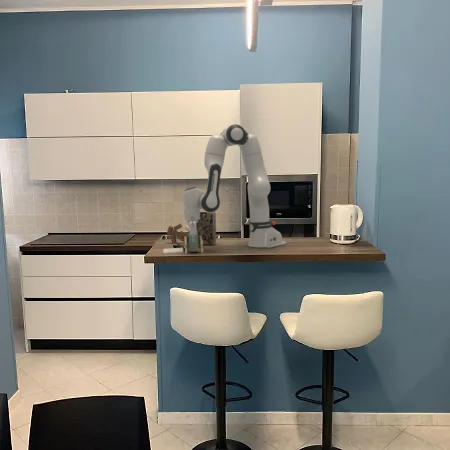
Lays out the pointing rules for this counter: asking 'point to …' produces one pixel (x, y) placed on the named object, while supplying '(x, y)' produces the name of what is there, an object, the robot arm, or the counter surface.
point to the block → (193, 244)
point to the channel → (199, 249)
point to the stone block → (207, 227)
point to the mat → (173, 250)
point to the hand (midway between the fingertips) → (193, 240)
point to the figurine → (176, 233)
